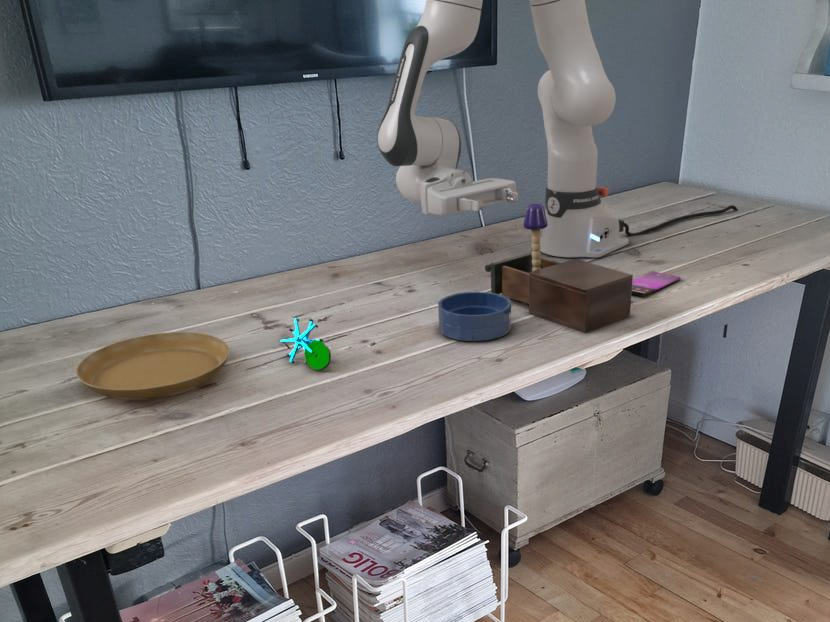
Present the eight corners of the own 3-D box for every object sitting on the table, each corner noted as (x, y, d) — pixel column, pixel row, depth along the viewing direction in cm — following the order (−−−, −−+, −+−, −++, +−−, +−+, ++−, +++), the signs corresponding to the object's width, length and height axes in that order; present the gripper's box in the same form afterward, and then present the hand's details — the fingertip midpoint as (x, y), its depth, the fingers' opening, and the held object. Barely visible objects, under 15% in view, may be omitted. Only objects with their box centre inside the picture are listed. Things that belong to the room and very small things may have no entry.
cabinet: (528, 313, 169) (529, 272, 165) (573, 298, 176) (575, 258, 172) (584, 333, 160) (586, 289, 156) (629, 316, 167) (633, 274, 163)
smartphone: (613, 291, 179) (613, 286, 179) (651, 273, 189) (651, 269, 189) (644, 298, 175) (644, 293, 175) (681, 279, 185) (681, 275, 185)
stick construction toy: (270, 345, 151) (294, 307, 149) (297, 355, 157) (320, 319, 155) (310, 382, 145) (335, 343, 144) (336, 391, 151) (361, 354, 150)
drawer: (476, 289, 179) (476, 258, 176) (517, 277, 186) (517, 247, 183) (538, 310, 168) (538, 278, 165) (579, 297, 174) (580, 265, 171)
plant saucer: (53, 407, 136) (47, 388, 134) (116, 348, 157) (112, 331, 155) (206, 408, 135) (202, 389, 133) (249, 349, 155) (246, 331, 154)
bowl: (478, 312, 170) (477, 287, 168) (525, 329, 162) (525, 303, 159) (424, 329, 163) (423, 303, 160) (471, 348, 154) (470, 321, 152)
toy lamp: (529, 295, 172) (530, 209, 164) (519, 288, 176) (519, 203, 167) (551, 292, 174) (553, 206, 165) (540, 285, 177) (542, 201, 169)
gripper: (490, 198, 191) (535, 208, 182) (416, 215, 179) (460, 227, 170) (490, 168, 187) (535, 177, 178) (414, 183, 176) (459, 194, 167)
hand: (498, 202), depth 174 cm, fingers open, 8 cm apart
